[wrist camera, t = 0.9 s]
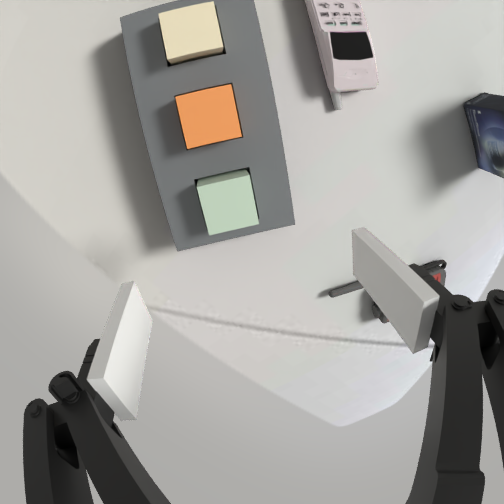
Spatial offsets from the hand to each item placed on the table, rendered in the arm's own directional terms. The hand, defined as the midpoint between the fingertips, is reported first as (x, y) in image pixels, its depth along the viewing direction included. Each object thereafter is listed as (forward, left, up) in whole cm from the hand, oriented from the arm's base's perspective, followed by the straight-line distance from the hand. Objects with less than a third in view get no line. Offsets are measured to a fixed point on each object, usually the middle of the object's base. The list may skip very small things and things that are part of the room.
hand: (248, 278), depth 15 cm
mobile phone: (-19, +15, -19) cm, 30 cm away
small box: (-3, +38, -19) cm, 42 cm away
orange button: (-8, 0, -17) cm, 19 cm away
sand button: (-16, 0, -17) cm, 23 cm away
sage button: (0, 0, -17) cm, 17 cm away
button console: (-8, 0, -18) cm, 20 cm away
